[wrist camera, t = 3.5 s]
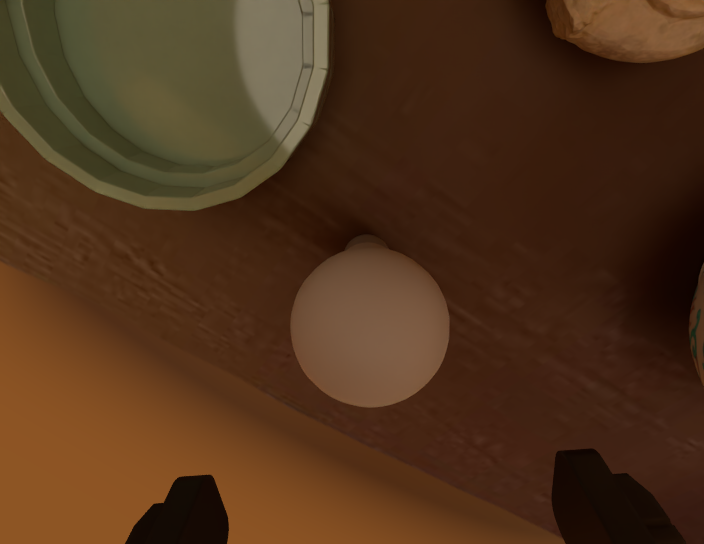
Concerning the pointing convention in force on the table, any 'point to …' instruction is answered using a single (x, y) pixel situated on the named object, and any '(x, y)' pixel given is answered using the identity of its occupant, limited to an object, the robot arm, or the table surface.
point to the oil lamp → (630, 27)
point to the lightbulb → (369, 325)
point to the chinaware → (698, 327)
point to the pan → (166, 91)
